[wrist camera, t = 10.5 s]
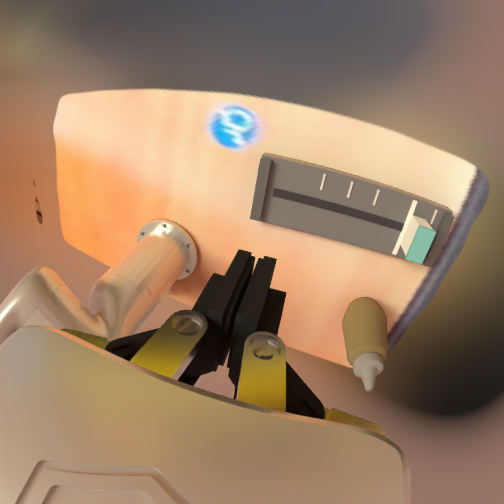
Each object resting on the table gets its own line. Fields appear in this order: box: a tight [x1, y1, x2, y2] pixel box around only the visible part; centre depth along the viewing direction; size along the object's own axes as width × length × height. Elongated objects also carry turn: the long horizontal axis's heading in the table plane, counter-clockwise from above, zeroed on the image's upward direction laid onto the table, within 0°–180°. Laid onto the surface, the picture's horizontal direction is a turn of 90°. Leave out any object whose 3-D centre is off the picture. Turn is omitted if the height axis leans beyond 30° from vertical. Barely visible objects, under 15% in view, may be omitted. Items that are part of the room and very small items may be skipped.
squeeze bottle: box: [342, 297, 388, 392], centre depth 42 cm, size 8×8×18 cm
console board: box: [250, 153, 454, 267], centre depth 40 cm, size 10×30×3 cm, turn 80°
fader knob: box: [400, 215, 436, 264], centre depth 36 cm, size 5×3×4 cm, turn 170°
